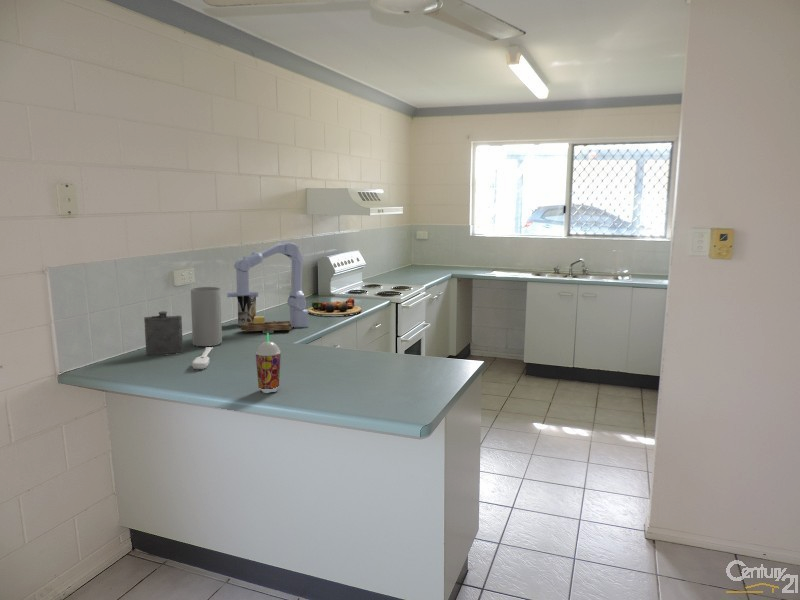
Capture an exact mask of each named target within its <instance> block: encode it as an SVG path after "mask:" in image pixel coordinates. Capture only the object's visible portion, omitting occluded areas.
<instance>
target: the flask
mask: <svg viewBox="0 0 800 600" xmlns="http://www.w3.org/2000/svg"><path fill="white" fill-rule="evenodd" d="M167 314H168V311H167V310H166V311H163V310H162V311H158V315H154V316H153V315H152V316H145V317H143V318H144V336H145V337H144V340H145V355H146V356H167V355H166V354H171V355H177V354H176V353H181V354H183V353H184V347H183V346H184V343H183V321H182V320H183V319H182V315H168V316H167ZM182 352H183V353H182Z"/></svg>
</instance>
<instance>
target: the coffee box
mask: <svg viewBox="0 0 800 600" xmlns="http://www.w3.org/2000/svg"><path fill="white" fill-rule="evenodd" d="M239 296H248V295H239ZM243 306H244V304H243ZM254 316H257V297H249V299H248V301H247V303H246V307H245V312H242V309H241V306H240V303H239V301H238V300H237V326H239V327H241V324H245V322H254Z"/></svg>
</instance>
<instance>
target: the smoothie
mask: <svg viewBox="0 0 800 600" xmlns="http://www.w3.org/2000/svg"><path fill="white" fill-rule="evenodd" d="M269 337H270V334H269V333H267V334H266V341H263V342H262V343H260V345H258V347H257V349H256V351H255V361H256V363H255V364H256V372H257V374H256V375H257V384H258V389H259V388H261V389H273V388H276V387H278V386H279V387H280V376H281V374H280V373H281V355H282V354H281V353H282V351H281V350H280V348H279V346H278V345H277V344H276V343H275V342H274V341H272V340H271V341H270V338H269Z"/></svg>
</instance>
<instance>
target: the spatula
mask: <svg viewBox="0 0 800 600" xmlns="http://www.w3.org/2000/svg"><path fill="white" fill-rule="evenodd" d="M213 349H214V346H212V347H204V351H203V353H201V355H200V356H197V357H195V358H194V359H193V360H192V362H191V363H192V364H191V365H192V369H193V370H204V368H205V369H207V368H208V367H209V364H210V357H209V356H208V355H209V354H210V352H211V350H213ZM207 366H208V367H207ZM206 367H207V368H206Z"/></svg>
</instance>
